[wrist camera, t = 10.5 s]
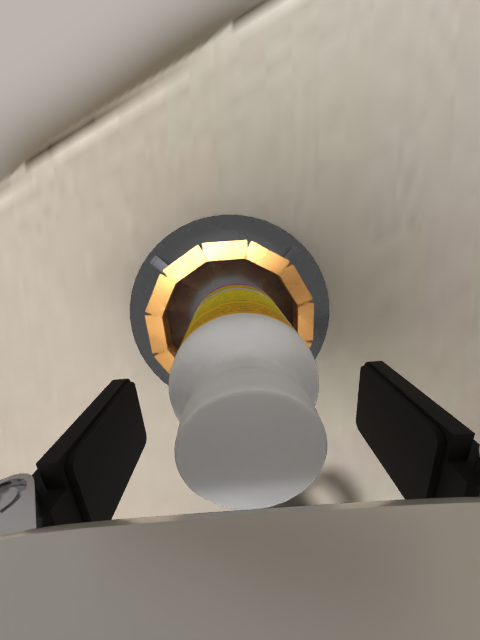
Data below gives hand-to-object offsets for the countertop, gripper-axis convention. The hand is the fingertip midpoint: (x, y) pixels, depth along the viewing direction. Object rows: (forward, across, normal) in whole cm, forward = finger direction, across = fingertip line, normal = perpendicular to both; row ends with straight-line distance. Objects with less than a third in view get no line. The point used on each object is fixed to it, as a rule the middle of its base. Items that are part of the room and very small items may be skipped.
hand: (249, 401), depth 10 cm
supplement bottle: (+10, 0, 0) cm, 10 cm away
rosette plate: (+12, +1, 0) cm, 12 cm away
